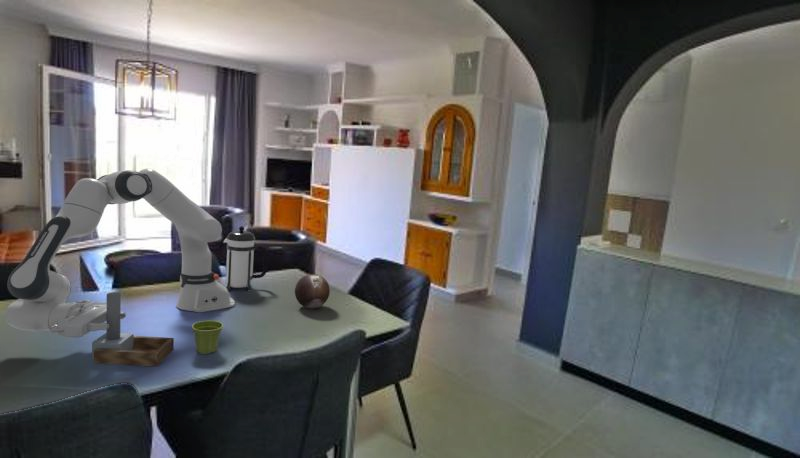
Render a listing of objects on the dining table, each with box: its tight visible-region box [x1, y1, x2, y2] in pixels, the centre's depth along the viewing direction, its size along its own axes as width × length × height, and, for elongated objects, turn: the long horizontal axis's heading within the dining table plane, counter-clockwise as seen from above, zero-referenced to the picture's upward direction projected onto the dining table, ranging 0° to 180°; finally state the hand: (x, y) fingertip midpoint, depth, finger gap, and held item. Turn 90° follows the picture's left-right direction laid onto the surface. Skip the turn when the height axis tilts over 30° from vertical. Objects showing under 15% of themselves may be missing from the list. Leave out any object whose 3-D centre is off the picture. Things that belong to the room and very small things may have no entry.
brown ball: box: [294, 273, 331, 309], centre depth 200 cm, size 15×15×15 cm
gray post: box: [91, 291, 135, 359], centre depth 139 cm, size 8×8×19 cm
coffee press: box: [223, 225, 269, 291], centre depth 218 cm, size 17×16×30 cm
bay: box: [93, 335, 175, 367], centre depth 141 cm, size 18×12×4 cm, turn 95°
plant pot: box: [191, 320, 224, 355], centre depth 149 cm, size 9×9×9 cm
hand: (116, 320), depth 139 cm, fingers open, 8 cm apart
